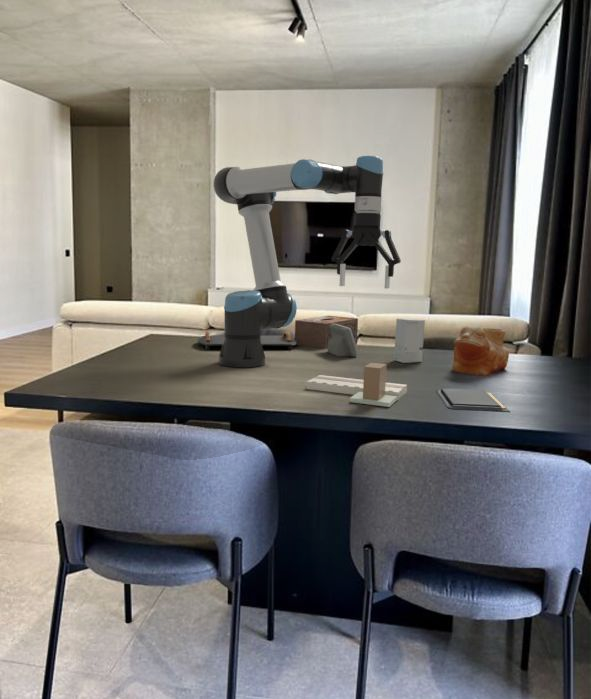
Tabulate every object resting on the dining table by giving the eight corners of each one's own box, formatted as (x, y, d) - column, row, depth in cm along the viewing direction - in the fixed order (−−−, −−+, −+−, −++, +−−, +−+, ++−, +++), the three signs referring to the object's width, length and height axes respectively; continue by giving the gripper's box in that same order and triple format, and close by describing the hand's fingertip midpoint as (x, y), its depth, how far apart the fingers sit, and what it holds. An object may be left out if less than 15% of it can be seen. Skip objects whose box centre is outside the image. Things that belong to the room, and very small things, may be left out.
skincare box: (402, 363, 200) (405, 319, 198) (392, 360, 205) (395, 317, 203) (423, 362, 203) (425, 319, 201) (413, 359, 209) (415, 317, 206)
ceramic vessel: (439, 372, 187) (443, 325, 185) (476, 362, 206) (479, 319, 204) (481, 379, 178) (485, 330, 176) (515, 368, 197) (519, 323, 195)
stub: (349, 401, 145) (351, 366, 143) (359, 395, 152) (360, 360, 151) (389, 407, 141) (391, 370, 139) (397, 399, 148) (399, 364, 147)
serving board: (197, 351, 214) (197, 335, 213) (196, 342, 236) (196, 327, 235) (301, 351, 221) (302, 335, 220) (291, 342, 243) (291, 327, 242)
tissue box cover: (327, 338, 256) (328, 315, 254) (356, 341, 248) (357, 318, 246) (294, 345, 235) (295, 320, 233) (325, 349, 227) (326, 323, 225)
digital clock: (359, 358, 208) (360, 328, 207) (334, 357, 207) (335, 328, 205) (348, 350, 224) (349, 322, 223) (325, 350, 223) (326, 322, 221)
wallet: (435, 385, 161) (493, 388, 159) (435, 392, 161) (492, 395, 160) (446, 404, 141) (511, 407, 140) (445, 411, 141) (510, 415, 140)
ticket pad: (306, 388, 158) (306, 381, 158) (319, 381, 167) (319, 374, 167) (397, 400, 149) (398, 392, 148) (406, 392, 158) (407, 384, 157)
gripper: (322, 211, 170) (319, 285, 173) (407, 211, 160) (403, 289, 164) (331, 213, 177) (328, 284, 180) (413, 213, 167) (409, 288, 170)
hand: (364, 287), depth 172 cm, fingers open, 13 cm apart
